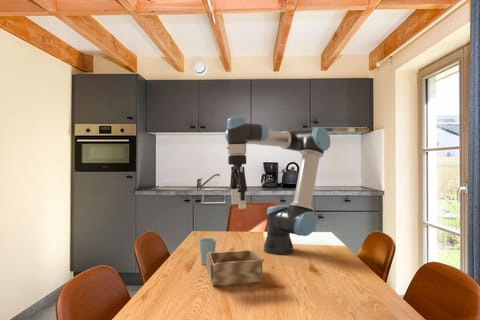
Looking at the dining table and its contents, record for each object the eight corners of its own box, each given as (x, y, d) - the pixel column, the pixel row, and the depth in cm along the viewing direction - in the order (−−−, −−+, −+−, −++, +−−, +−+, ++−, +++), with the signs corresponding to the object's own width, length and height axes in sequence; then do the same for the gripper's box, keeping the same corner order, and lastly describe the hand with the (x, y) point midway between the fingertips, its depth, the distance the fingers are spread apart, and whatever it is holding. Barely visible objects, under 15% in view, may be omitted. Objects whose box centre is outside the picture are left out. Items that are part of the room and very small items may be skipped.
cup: (218, 264, 139) (218, 241, 139) (202, 267, 136) (201, 242, 136) (213, 259, 146) (212, 237, 146) (197, 262, 143) (197, 239, 143)
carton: (251, 268, 133) (251, 249, 134) (262, 282, 117) (262, 261, 117) (206, 271, 129) (206, 252, 130) (210, 287, 113) (210, 265, 113)
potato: (221, 271, 128) (221, 252, 128) (245, 272, 127) (245, 253, 127) (218, 278, 120) (218, 257, 120) (243, 279, 119) (243, 258, 119)
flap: (260, 260, 116) (264, 259, 111) (260, 262, 116) (264, 260, 111) (214, 263, 113) (216, 262, 107) (214, 265, 112) (216, 264, 107)
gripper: (222, 155, 140) (224, 202, 140) (234, 154, 116) (236, 211, 116) (239, 155, 142) (240, 202, 142) (254, 154, 118) (255, 210, 118)
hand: (238, 206), depth 129 cm, fingers open, 13 cm apart
